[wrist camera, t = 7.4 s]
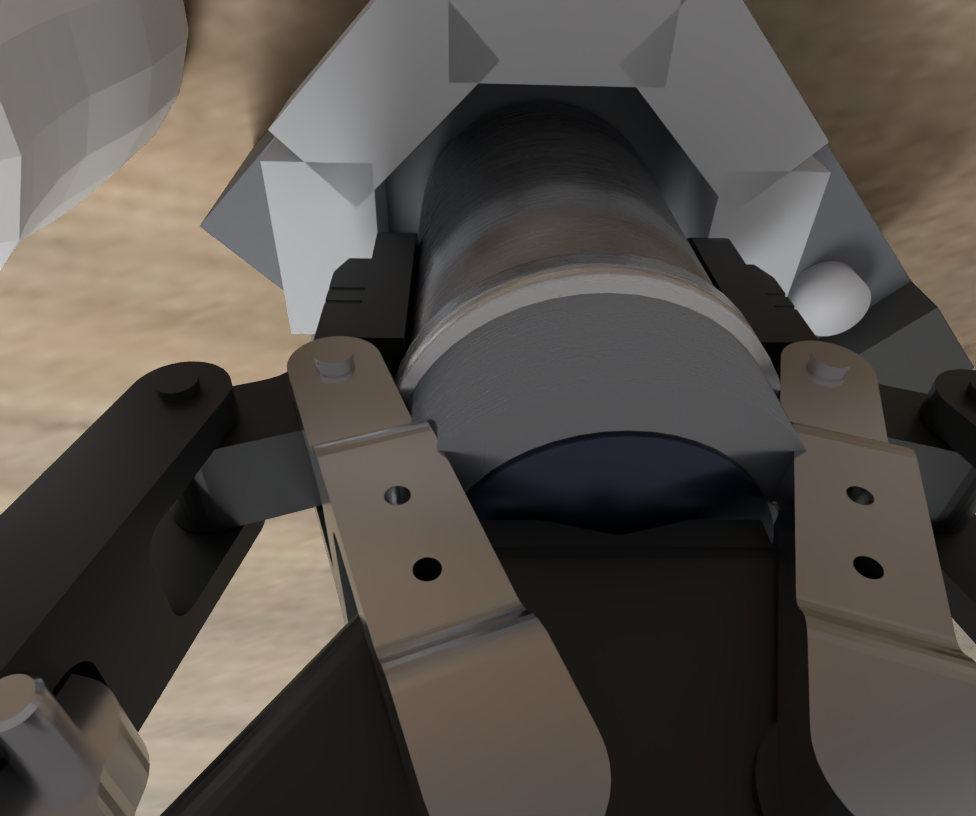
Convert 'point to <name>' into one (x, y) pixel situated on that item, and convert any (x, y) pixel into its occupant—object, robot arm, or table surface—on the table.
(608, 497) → the lens
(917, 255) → the table surface
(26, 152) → the cup
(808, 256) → the camera body
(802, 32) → the table surface
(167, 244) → the table surface
